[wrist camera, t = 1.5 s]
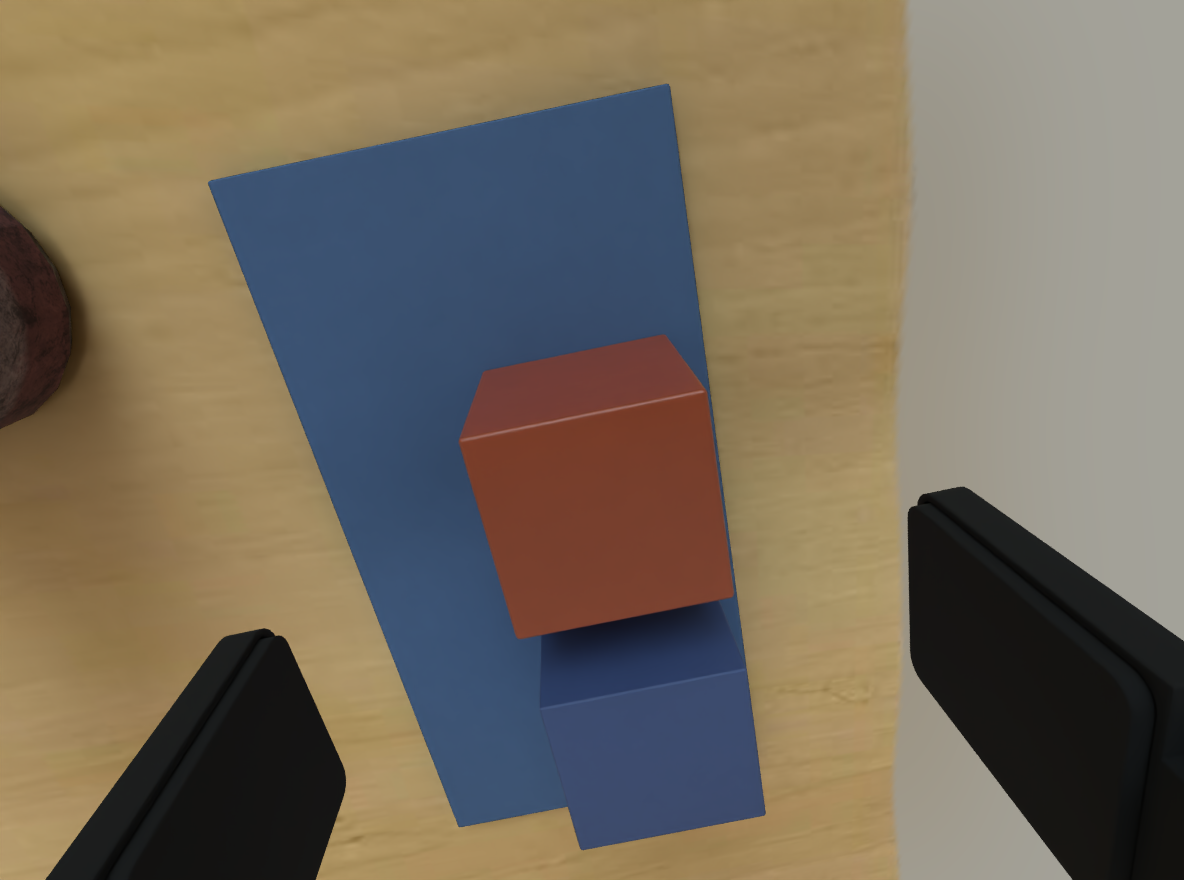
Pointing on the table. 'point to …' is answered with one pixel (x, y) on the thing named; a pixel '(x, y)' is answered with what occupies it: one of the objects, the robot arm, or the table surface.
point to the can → (29, 323)
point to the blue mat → (461, 371)
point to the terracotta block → (598, 486)
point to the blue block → (651, 725)
